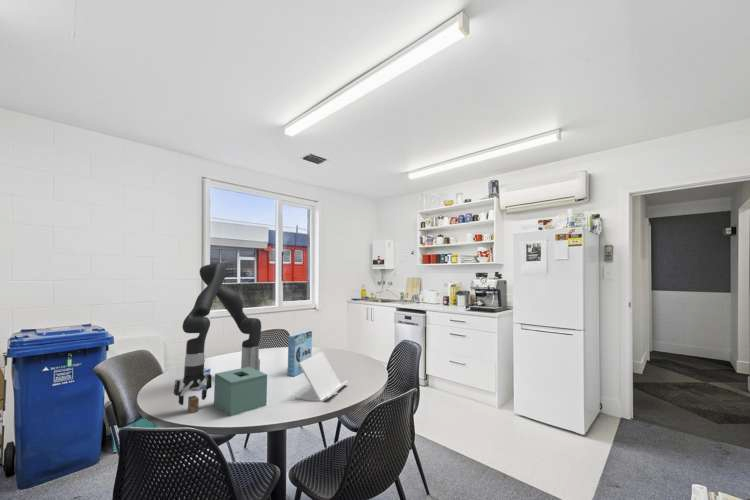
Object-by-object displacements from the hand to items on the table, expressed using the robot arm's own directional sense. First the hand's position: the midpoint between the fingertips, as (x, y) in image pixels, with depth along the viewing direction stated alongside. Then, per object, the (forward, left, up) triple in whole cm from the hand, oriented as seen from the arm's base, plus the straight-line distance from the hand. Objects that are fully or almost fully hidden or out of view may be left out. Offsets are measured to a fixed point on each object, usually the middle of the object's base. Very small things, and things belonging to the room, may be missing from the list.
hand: (192, 401), depth 143 cm
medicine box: (-13, -29, -4) cm, 32 cm away
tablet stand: (-54, +20, -4) cm, 58 cm away
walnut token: (0, 0, -4) cm, 4 cm away
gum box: (-65, -17, -4) cm, 68 cm away
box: (-17, +8, -4) cm, 19 cm away
